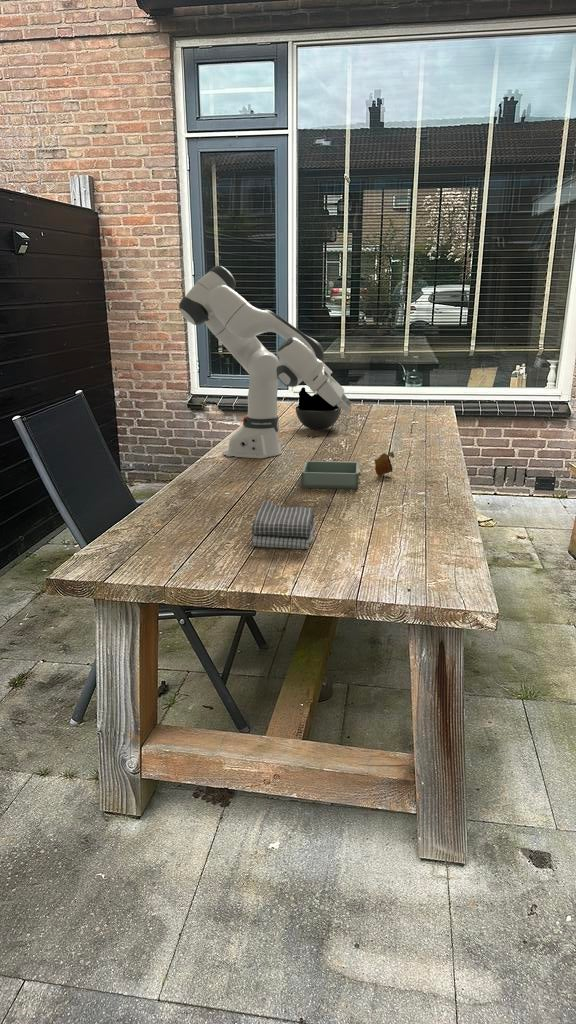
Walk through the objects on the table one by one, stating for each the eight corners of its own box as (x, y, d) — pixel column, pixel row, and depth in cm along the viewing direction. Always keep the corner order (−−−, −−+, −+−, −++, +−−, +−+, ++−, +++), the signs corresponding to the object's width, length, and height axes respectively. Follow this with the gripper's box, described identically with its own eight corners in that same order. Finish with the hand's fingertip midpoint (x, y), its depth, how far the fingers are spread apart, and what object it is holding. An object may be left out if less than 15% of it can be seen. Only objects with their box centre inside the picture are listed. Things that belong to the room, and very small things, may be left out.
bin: (301, 487, 220) (301, 472, 218) (305, 475, 234) (305, 461, 232) (357, 489, 218) (358, 473, 216) (358, 476, 232) (359, 462, 230)
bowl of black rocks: (348, 428, 308) (349, 386, 302) (326, 436, 292) (327, 392, 286) (310, 423, 318) (310, 382, 312) (287, 431, 302) (286, 388, 296)
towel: (250, 550, 170) (249, 520, 167) (259, 525, 187) (259, 498, 184) (312, 552, 168) (312, 522, 166) (315, 527, 186) (315, 499, 183)
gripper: (315, 380, 234) (344, 409, 236) (309, 389, 215) (340, 420, 217) (328, 367, 232) (357, 396, 234) (323, 375, 213) (355, 406, 215)
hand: (349, 408), depth 226 cm, fingers open, 8 cm apart
